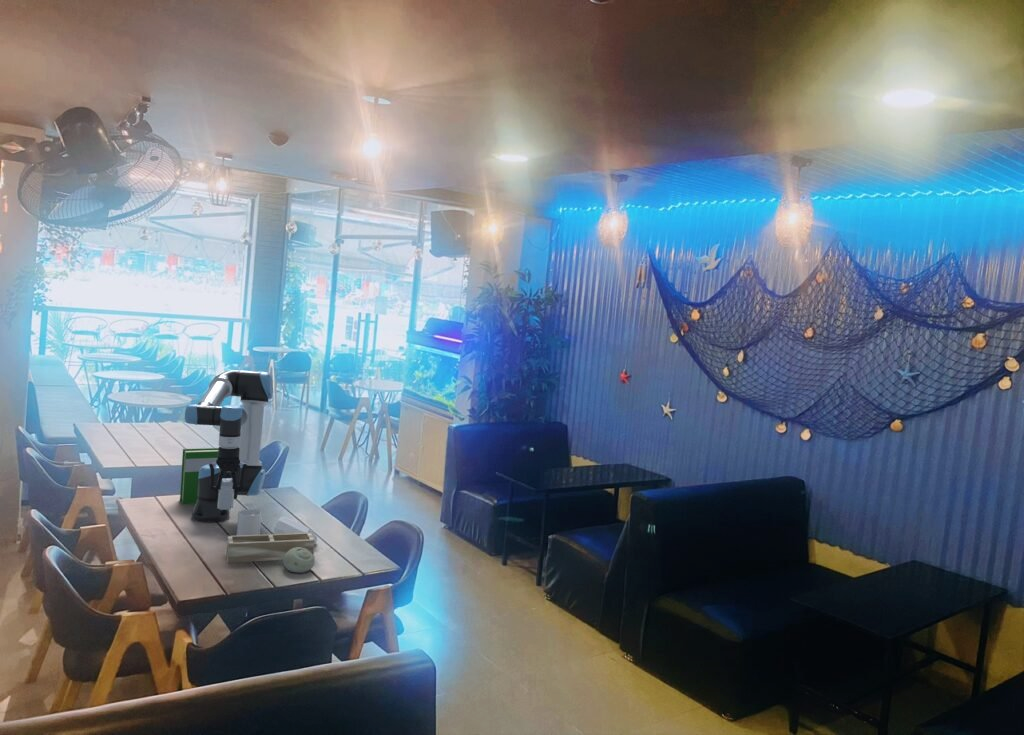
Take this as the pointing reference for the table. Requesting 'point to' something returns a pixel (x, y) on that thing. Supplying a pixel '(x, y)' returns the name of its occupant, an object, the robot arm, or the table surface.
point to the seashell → (298, 560)
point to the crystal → (291, 527)
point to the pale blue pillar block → (226, 493)
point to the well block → (266, 546)
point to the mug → (249, 522)
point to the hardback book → (194, 471)
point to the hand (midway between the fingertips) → (225, 507)
